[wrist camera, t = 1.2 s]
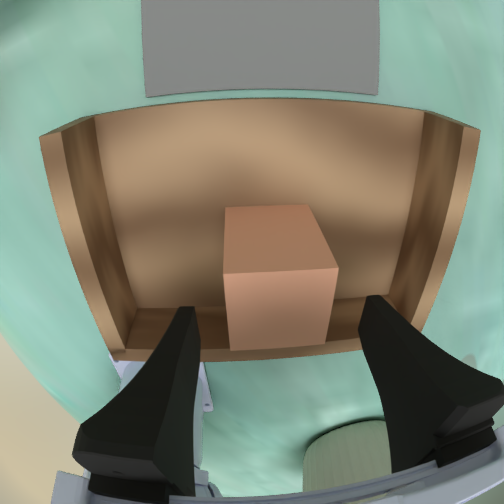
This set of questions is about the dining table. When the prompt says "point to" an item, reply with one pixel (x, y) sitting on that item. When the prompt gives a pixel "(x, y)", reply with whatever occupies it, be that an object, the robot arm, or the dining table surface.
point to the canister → (348, 457)
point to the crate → (254, 194)
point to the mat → (260, 45)
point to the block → (276, 277)
